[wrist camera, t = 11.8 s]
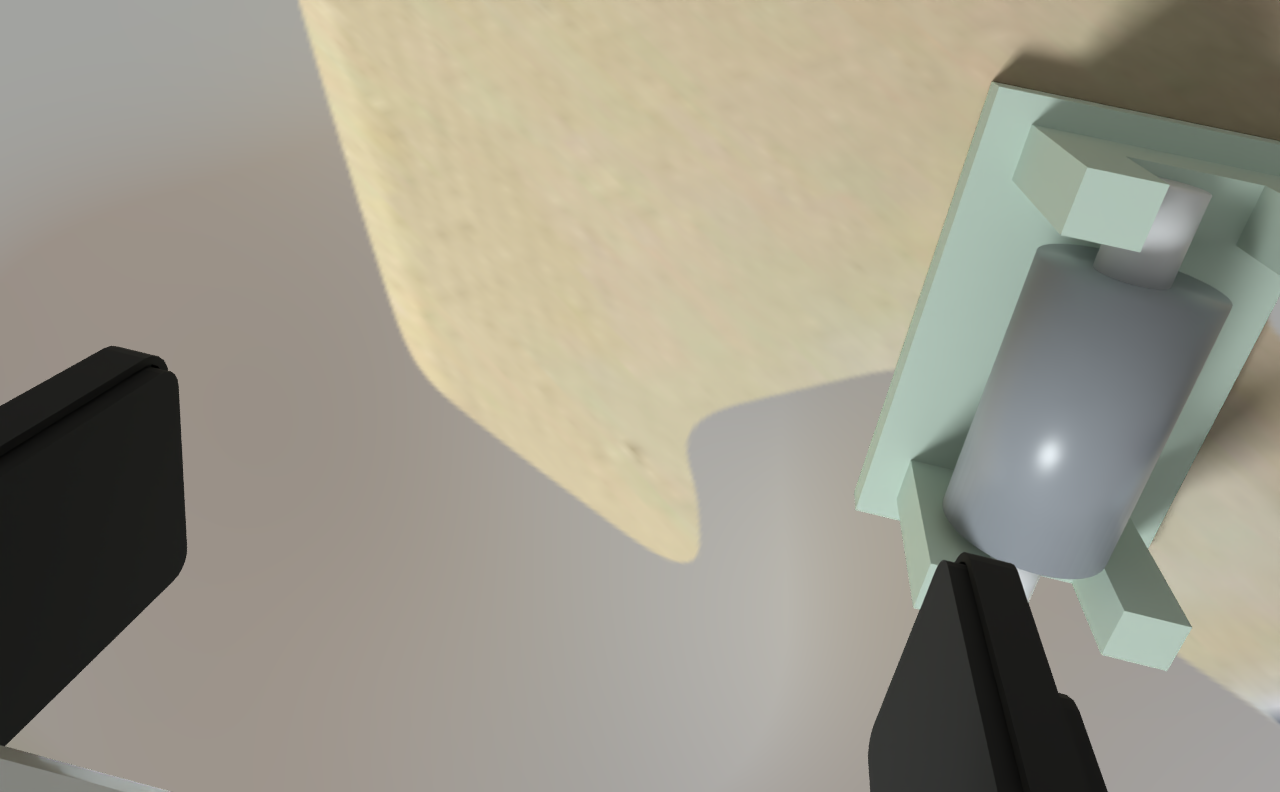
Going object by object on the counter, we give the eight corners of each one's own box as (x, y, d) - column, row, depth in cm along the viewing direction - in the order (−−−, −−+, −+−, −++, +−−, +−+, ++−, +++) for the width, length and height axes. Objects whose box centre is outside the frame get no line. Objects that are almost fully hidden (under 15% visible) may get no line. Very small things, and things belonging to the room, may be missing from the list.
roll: (1095, 152, 33) (1047, 166, 28) (1286, 202, 30) (1267, 227, 25) (950, 526, 40) (894, 585, 35) (1093, 596, 37) (1052, 670, 32)
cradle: (992, 81, 34) (1047, 120, 26) (1329, 151, 33) (1493, 213, 25) (854, 492, 42) (864, 618, 34) (1122, 557, 41) (1197, 702, 33)
